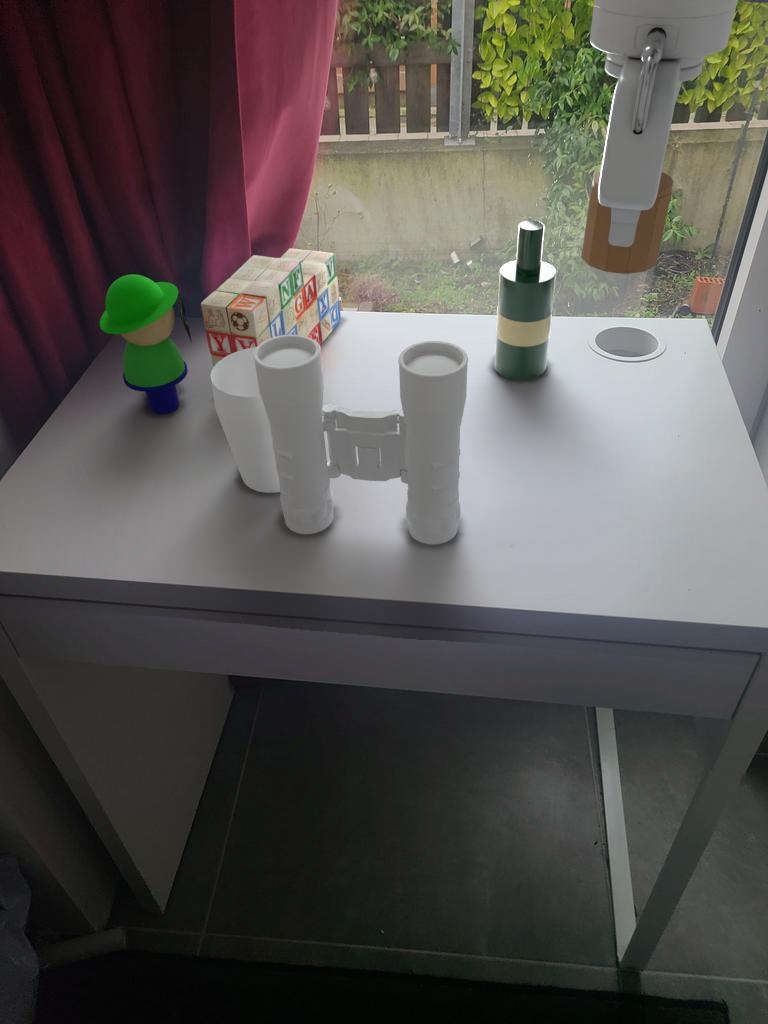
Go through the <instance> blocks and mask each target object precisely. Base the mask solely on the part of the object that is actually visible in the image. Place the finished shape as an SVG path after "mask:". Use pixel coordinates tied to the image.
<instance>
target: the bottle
mask: <svg viewBox="0 0 768 1024" xmlns="http://www.w3.org/2000/svg"><path fill="white" fill-rule="evenodd" d="M544 233H545V224H544V223H543V222H541V221H538V220H525V221H521V222H520V223H519V224H518V234H517V246H516V248H517V250H516V259H515V260H512V261H508V262H506V263H504V264H502V266H501V267H500V269H499V278H498V279H499V280H498V296H497V298H498V299H497V308H496V321H495V322H496V323H495V324H496V325H495V349H494V366H493V367H494V370H495V372H496V373H497V374H498V375H499V376H500V377H503V378H505V379H509V380H513V381H530V380H534V379H537V378H539V377H541V376H542V375H544V374H545V373H546V370H547V363H548V356H549V355H548V354H549V345H550V336H551V330H552V329H551V328H552V322H553V321H552V320H553V307H554V306H553V305H554V298H555V297H554V296H555V287H556V279H557V278H556V277H557V270H556V267H554V266H553V265H552V264H550V263H548V262H546V261H543V260H542V256H543V244H544Z"/></svg>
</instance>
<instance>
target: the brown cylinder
mask: <svg viewBox="0 0 768 1024" xmlns="http://www.w3.org/2000/svg"><path fill="white" fill-rule="evenodd" d="M600 175H601V169H600V170H599V171H597V172H595V173H594V174H593V177H592V183H591V187H590V191H589V192H590V194H589V199H588V200H589V202H588V208H587V213H586V221H585V229H584V235H583V242H582V249H581V259H582V260H583V261H584V262H585V263H586V264H587V265H588V266H589V267H592V268H594V269H597V270H600V271H601V272H605V273H614V274H624V275H628V274H629V275H630V274H638V273H644V272H647V271H648V270H650V269H652V268H654V267H656V266H657V264H658V260H659V256H660V255H659V254H660V250H661V245H662V240H663V234H664V230H665V226H666V221H667V216H668V212H669V206H670V201H671V197H672V191H673V187H674V180H673V178H672V177H671V176H670V175H668V174H667V173H665V172H663V171H662V173H661V179H660V184H659V189H658V194H657V197H656V200H655V203H654V205H653V207H652V208H650V209H648V210H641V213H640V216H639V220H638V223H637V228H636V233H635V239H634V243H633V244H632V245H631V246H630V247H620V246H612V245H611V244H610V243H609V240H608V239H609V232H610V226H611V207H605V206H602V205H601V204H600V203H599V198H598V191H599V182H600Z"/></svg>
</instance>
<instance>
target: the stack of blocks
mask: <svg viewBox="0 0 768 1024" xmlns="http://www.w3.org/2000/svg"><path fill="white" fill-rule="evenodd" d="M335 256H336V255H335V253H334V252H329V251H328V252H327V251H320V250H309V249H299V248H291V247H289V248H288V249H287V250H286V252H285V253H283V254H282V256H280V257H272V256H264V255H258V254H257V255H256V254H253V255H252V256H250V257H249V259H247V261H245V262H244V263H243V264H242V265H241V266H240V267H239V268H238V269H237V270H236V271H235V272H234V273H232V275H231V276H230V277H229V278H227V279H226V280H225V281H224V282H223V283H221V285H219V287H218V288H217V289H215V290H214V291H212V292H211V293H210V294H209V295H208V296H207V297H206V298H204V299H203V301H201V303H200V309H201V313H202V319H203V323H204V327H205V335H206V340H207V346H208V350H209V354H210V357H211V361H212V366H213V367H214V366H215V365H216V364H217V363H218V362H219V361H220V360H222V359H223V358H224V357H226V356H228V355H230V354H232V353H235V352H237V351H240V350H244V349H248V348H254V347H257V346H258V345H259V344H260V343H262V342H264V341H265V340H267V339H270V338H273V337H276V336H281V335H302V336H307V337H309V338H312V339H313V340H315V341H316V342H317V343H318V344H319V345H320V346H321V345H322V343H324V341H325V340H326V339H328V337H329V336H330V334H331V333H332V332H333V331H334V330H335V328H336V327H337V326H338V324H339V323H341V320H342V316H341V315H342V314H341V305H340V291H339V279H338V276H337V267H336V257H335Z"/></svg>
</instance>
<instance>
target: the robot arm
mask: <svg viewBox="0 0 768 1024" xmlns="http://www.w3.org/2000/svg"><path fill="white" fill-rule="evenodd" d="M738 1H739V0H594V2H593V9H592V18H591V24H590V33H589V42H590V44H591V46H592V47H593V48H595V49H597V50H599V51H601V52H604V53H606V58H605V63H604V71H605V72H606V73H607V74H608V75H609V76H611V77H614V78H615V79H617V82H616V86H615V87H614V88H615V89H614V92H613V98H612V103H611V108H610V114H609V119H608V120H609V121H608V125H607V133H606V138H605V145H604V150H603V157H602V163H601V169H600V170H601V175H600V182H599V191H598V198H599V203H600V204H601V205H602V206H605V207H611V226H610V232H609V239H608V240H609V243H610V244H611V245H612V246H620V247H630V246H631V245H632V244H633V243H634V239H635V233H636V228H637V223H638V220H639V216H640V213H641V210H648V209H650V208H652V207H653V205H654V203H655V200H656V197H657V194H658V189H659V184H660V179H661V173H662V172H663V168H664V164H665V163H664V162H665V158H666V153H667V148H668V142H669V138H670V132H671V127H672V122H673V117H674V112H675V107H676V102H677V100H678V96H679V94H680V91H681V88H682V84H683V82H687V81H692V80H695V79H696V78H698V77H699V76H700V75H701V74H702V70H703V66H704V60H705V57H707V56H713V55H716V54H718V53H720V52H723V50H725V49H726V48H727V47H728V45H729V40H730V35H731V32H732V26H733V23H734V18H735V14H736V10H737V5H738ZM741 2H747V3H754V4H768V0H741Z"/></svg>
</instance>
